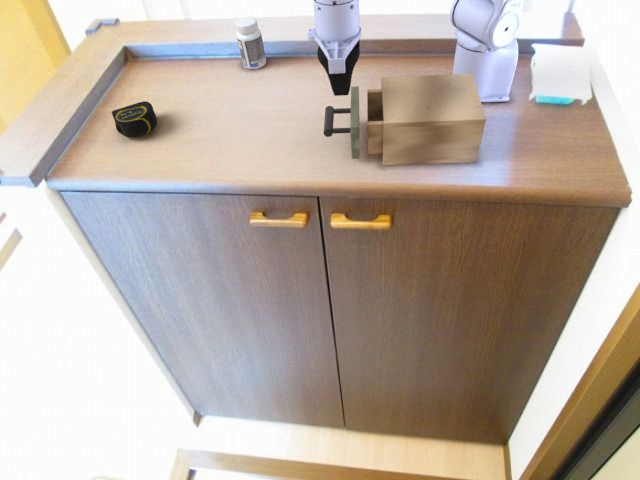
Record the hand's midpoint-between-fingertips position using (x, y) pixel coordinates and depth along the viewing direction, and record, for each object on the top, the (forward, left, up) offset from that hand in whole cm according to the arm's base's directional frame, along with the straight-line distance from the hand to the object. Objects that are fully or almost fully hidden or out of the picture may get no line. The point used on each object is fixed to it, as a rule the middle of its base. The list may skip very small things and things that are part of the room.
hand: (341, 92), depth 67 cm
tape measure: (+36, -5, -9) cm, 38 cm away
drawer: (-5, +1, -8) cm, 9 cm away
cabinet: (-13, +1, -9) cm, 15 cm away
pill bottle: (+18, -25, -9) cm, 32 cm away
